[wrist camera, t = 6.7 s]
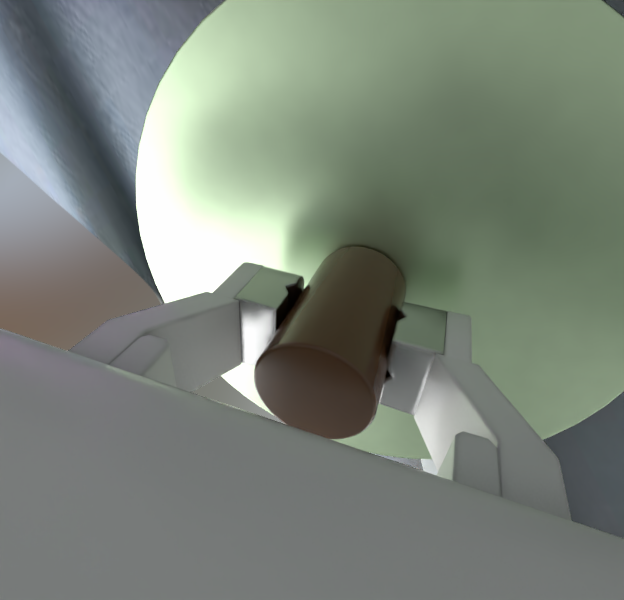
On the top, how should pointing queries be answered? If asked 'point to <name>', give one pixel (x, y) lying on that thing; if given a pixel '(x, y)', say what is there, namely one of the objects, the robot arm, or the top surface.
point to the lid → (400, 195)
